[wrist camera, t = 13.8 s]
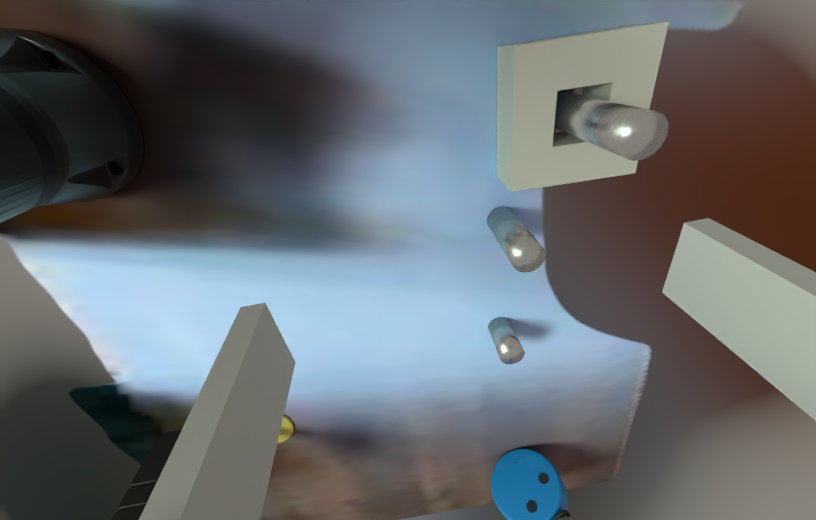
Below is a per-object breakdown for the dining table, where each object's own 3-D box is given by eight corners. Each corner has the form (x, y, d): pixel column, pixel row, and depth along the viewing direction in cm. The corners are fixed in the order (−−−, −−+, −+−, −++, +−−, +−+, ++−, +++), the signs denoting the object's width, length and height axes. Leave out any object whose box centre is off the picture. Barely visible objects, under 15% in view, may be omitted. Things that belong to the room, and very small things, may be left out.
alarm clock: (492, 471, 74) (515, 557, 62) (482, 457, 71) (504, 546, 59) (550, 452, 72) (586, 538, 59) (542, 437, 69) (579, 525, 56)
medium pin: (487, 233, 43) (511, 274, 35) (486, 208, 42) (512, 246, 34) (513, 229, 43) (544, 269, 35) (514, 204, 42) (546, 241, 34)
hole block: (496, 177, 40) (510, 192, 35) (497, 46, 33) (514, 45, 29) (607, 160, 40) (635, 173, 35) (631, 25, 33) (669, 21, 28)
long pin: (539, 128, 37) (615, 163, 25) (542, 93, 35) (624, 115, 23) (570, 123, 37) (661, 156, 25) (574, 88, 35) (674, 107, 23)
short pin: (488, 335, 53) (499, 365, 48) (488, 318, 51) (500, 348, 46) (510, 332, 53) (523, 362, 48) (510, 315, 51) (525, 344, 46)
